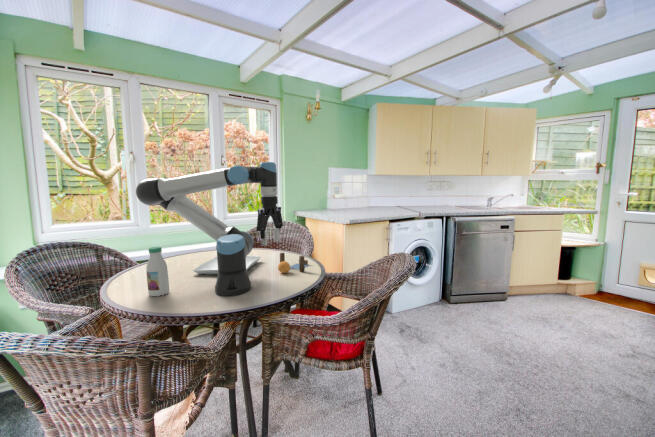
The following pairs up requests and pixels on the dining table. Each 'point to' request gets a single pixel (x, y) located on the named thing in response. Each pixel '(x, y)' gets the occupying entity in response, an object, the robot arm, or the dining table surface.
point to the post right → (301, 264)
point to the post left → (282, 257)
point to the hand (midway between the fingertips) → (270, 243)
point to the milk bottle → (157, 273)
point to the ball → (284, 267)
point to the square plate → (212, 265)
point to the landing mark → (297, 266)
